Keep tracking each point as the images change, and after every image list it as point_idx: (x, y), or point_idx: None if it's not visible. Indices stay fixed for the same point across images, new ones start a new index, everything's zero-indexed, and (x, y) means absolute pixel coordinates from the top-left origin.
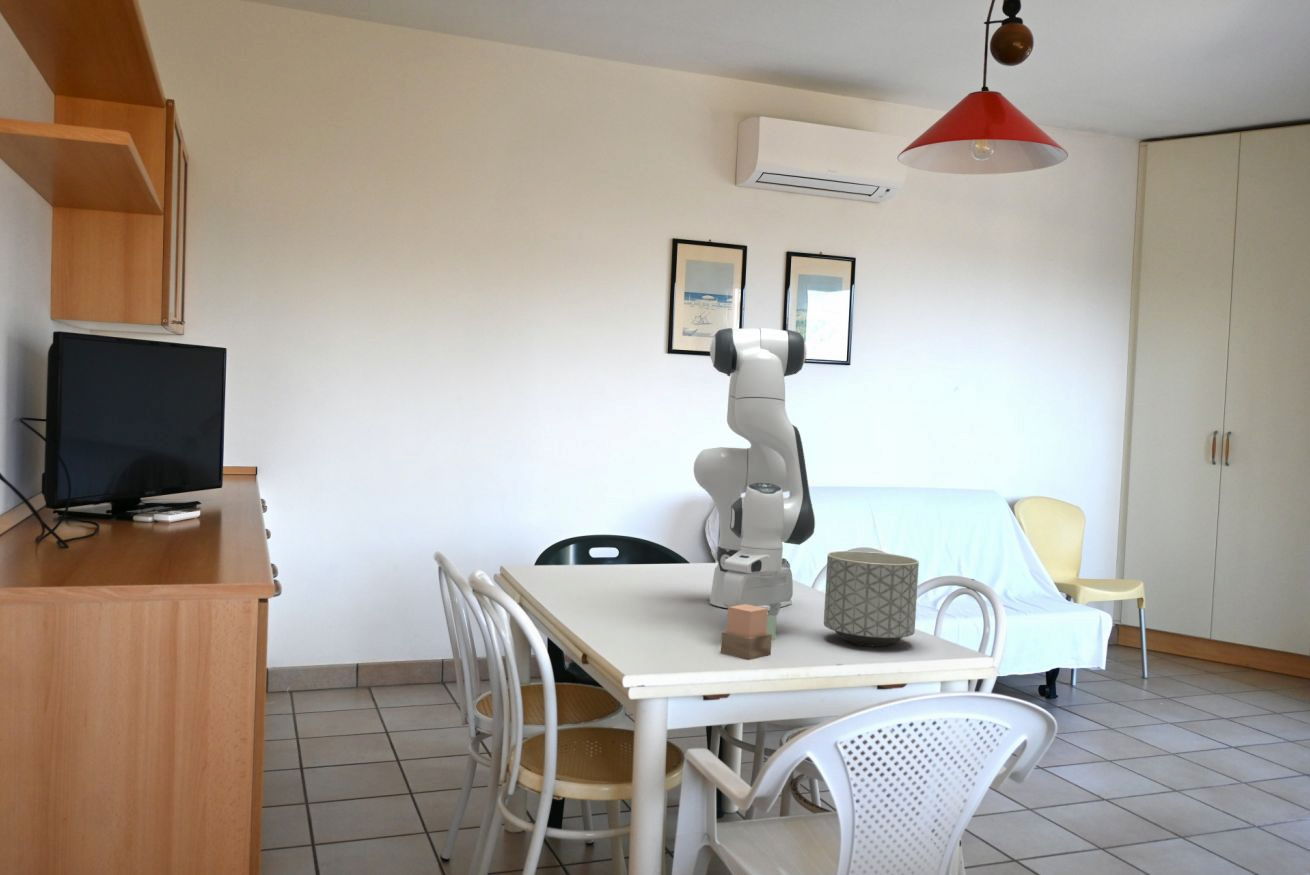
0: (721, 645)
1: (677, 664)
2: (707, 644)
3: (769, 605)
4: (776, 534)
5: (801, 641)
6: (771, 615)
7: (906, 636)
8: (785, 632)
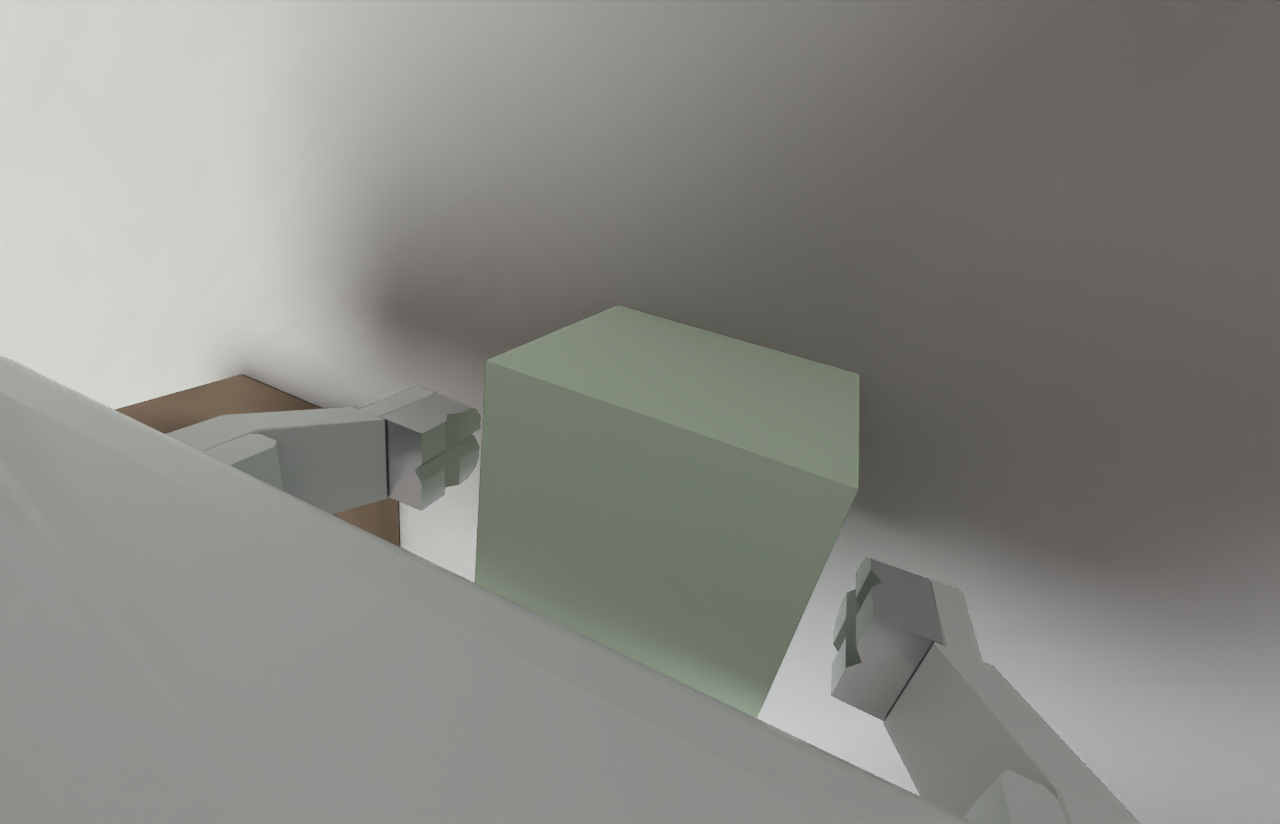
0: (198, 389)
1: (17, 304)
2: (289, 215)
3: (1000, 792)
4: None
5: (847, 742)
6: (746, 706)
7: None
8: (1232, 626)
